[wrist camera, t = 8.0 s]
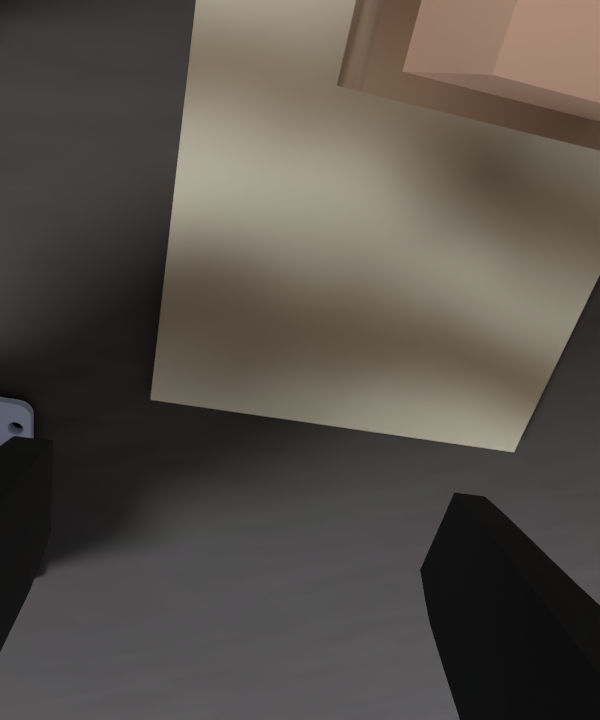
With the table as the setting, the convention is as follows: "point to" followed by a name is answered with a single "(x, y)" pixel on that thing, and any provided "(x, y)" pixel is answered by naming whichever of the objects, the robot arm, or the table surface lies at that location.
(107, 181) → the table surface
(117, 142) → the table surface
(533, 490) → the table surface
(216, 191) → the birch board
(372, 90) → the walnut block
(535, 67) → the clay block
